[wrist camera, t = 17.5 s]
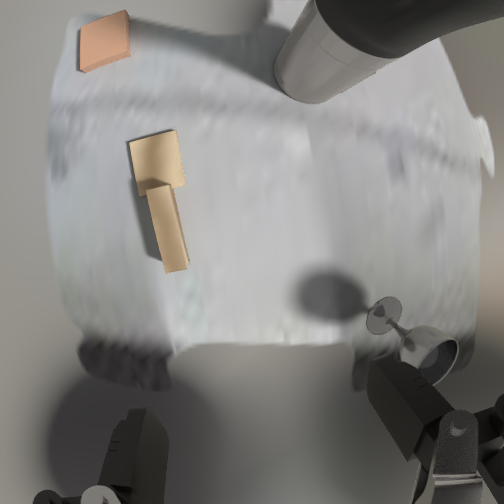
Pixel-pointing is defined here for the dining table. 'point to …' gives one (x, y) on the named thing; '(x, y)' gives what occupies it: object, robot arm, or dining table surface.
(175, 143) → the turner
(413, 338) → the wine glass
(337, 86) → the robot arm
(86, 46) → the tile
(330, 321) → the dining table surface
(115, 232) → the dining table surface
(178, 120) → the dining table surface
